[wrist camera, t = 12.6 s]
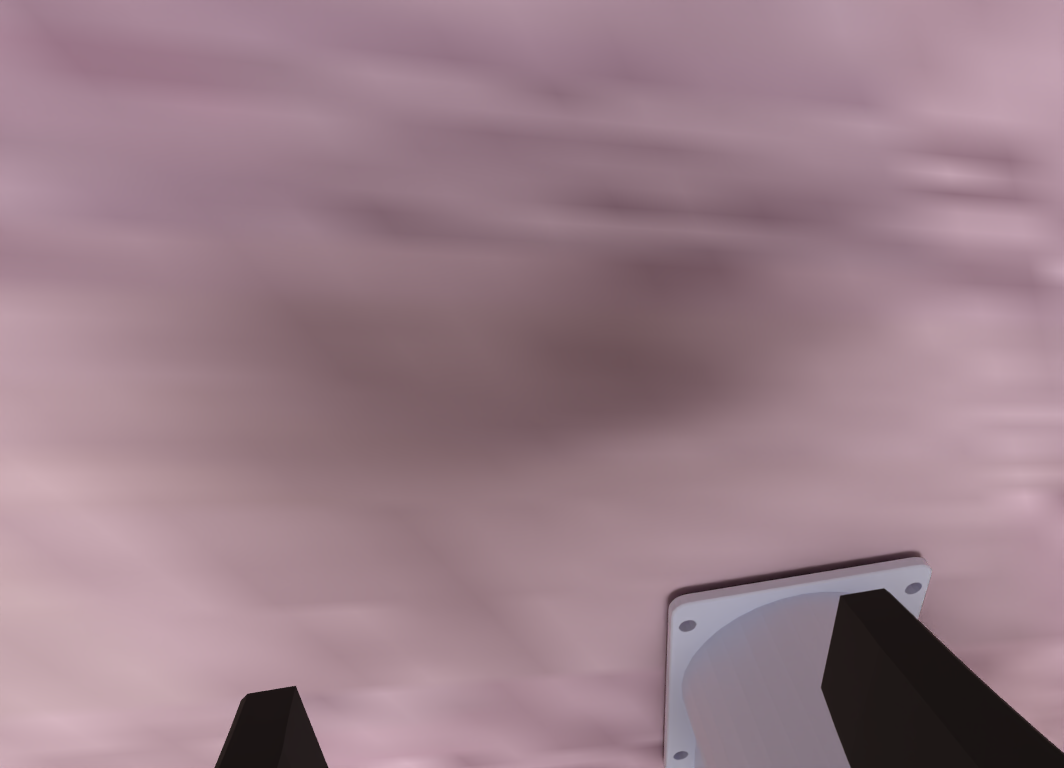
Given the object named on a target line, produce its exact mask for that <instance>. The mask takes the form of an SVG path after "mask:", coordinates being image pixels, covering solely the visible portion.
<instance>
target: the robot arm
mask: <svg viewBox="0 0 1064 768" xmlns="http://www.w3.org/2000/svg"><path fill="white" fill-rule="evenodd" d="M931 574H932V569H931V567H930V566H929V565H928V563H927V562H926V560H925V559H924V558H921V557H910V558H904V559H898V560H892V561H886V562H880V563H874V564H868V565H862V566H855V567H849V568H843V569H837V570H831V571H825V572H819V573H813V574H807V575H800V576H794V577H788V578H782V579H776V580H770V581H764V582H758V583H752V584H745V585H739V586H733V587H727V588H721V589H715V590H709V591H703V592H697V593H690V594H685V595H681V596H679V597H677V598H675V599H674V600H673V601H672V602H671V603H670V605H669V608H668V639H667V670H666V702H665V733H664V768H1064V753H1063V752H1062V751H1061V750H1060V749H1058V748H1057V747H1056V746H1055V745H1054V744H1053V743H1051V742H1050V741H1049V740H1048V739H1047V738H1046V737H1044V736H1043V735H1042V734H1041V733H1040V732H1039V731H1038V730H1037V729H1035V728H1034V727H1033V726H1032V725H1031V724H1030V723H1029V722H1028V721H1026V720H1025V719H1024V718H1023V717H1022V716H1021V715H1020V714H1019V713H1017V712H1016V711H1015V710H1014V709H1013V708H1012V707H1011V706H1010V705H1008V704H1007V703H1006V702H1005V701H1004V700H1003V699H1002V698H1000V697H999V696H998V695H997V694H996V693H995V692H994V691H993V690H992V689H991V688H990V687H988V686H987V685H986V684H985V683H984V682H983V681H982V680H981V679H980V678H979V677H978V676H977V675H976V674H974V673H973V672H972V671H971V670H970V669H969V668H968V667H967V666H966V665H965V664H964V663H963V662H962V661H961V660H960V659H958V658H957V657H956V656H955V655H954V654H953V653H952V652H951V651H950V650H949V649H948V648H947V647H946V646H945V645H944V644H943V643H942V642H941V641H940V640H939V639H937V638H936V637H935V636H934V635H933V634H932V633H931V632H930V631H929V630H928V629H927V628H926V627H925V626H924V625H923V624H922V623H921V622H920V621H919V620H918V618H919V614H920V611H921V608H922V604H923V601H924V598H925V594H926V591H927V588H928V584H929V581H930V578H931ZM215 768H328V766H327V763H326V761H325V758H324V756H323V753H322V751H321V748H320V746H319V743H318V741H317V738H316V736H315V733H314V731H313V728H312V726H311V723H310V721H309V718H308V716H307V713H306V711H305V708H304V706H303V703H302V700H301V698H300V695H299V693H298V690H297V688H296V686H292V687H286V688H280V689H274V690H268V691H262V692H256V693H250V694H247V695H246V696H245V697H244V698H243V699H242V700H241V702H240V705H239V707H238V710H237V713H236V715H235V718H234V721H233V723H232V726H231V728H230V731H229V733H228V736H227V738H226V741H225V743H224V746H223V748H222V751H221V753H220V756H219V758H218V761H217V763H216V765H215Z"/></svg>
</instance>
